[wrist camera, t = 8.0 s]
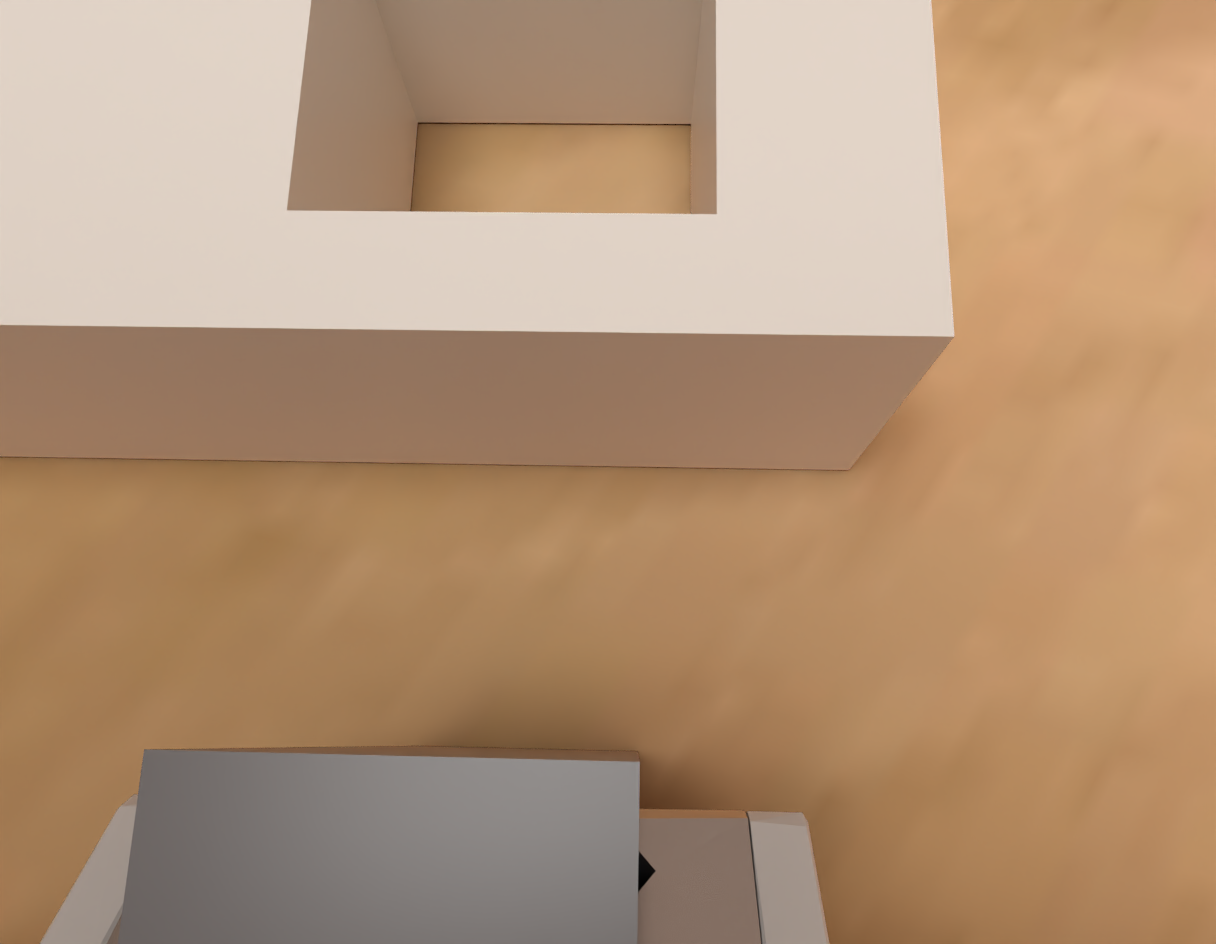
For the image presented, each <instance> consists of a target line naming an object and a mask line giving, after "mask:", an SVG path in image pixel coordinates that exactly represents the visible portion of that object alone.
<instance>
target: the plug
mask: <svg viewBox="0 0 1216 944" xmlns="http://www.w3.org/2000/svg"><path fill="white" fill-rule="evenodd" d="M639 790H640V760H639V755H638V751H609V750H568V749H528V748H487V747H446V746H367V747H293V748H219V749H145V750H144V755H143V762H142V769H141V777H140V784H139V791H138V799H137V806H136V813H135V821H134V828H133V835H132V843H131V850H130V857H129V865H128V872H127V879H126V887H125V894H124V901H123V909H122V916H121V924H120V931H119V938H118V944H637V926H638V858H639Z"/></svg>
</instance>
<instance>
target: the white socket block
mask: <svg viewBox="0 0 1216 944" xmlns="http://www.w3.org/2000/svg"><path fill="white" fill-rule="evenodd" d="M418 122H433V123H595V124H691V214H634V213H520V212H410V211H411V198H412V186H413V174H414V162H415V150H416V137H417V125H418ZM953 338H954V324H953V309H952V295H951V281H950V266H949V252H948V237H947V223H946V208H945V194H944V180H943V165H942V151H941V136H940V122H939V108H938V93H937V79H936V64H935V50H934V36H933V21H932V7H931V0H0V456H1V457H63V458H124V459H186V460H248V461H310V462H372V463H434V464H496V465H557V466H619V467H681V468H743V469H805V470H850V468H851V467H852V466H853V465H854V463H855V462H856V461H857V459H858V458H859V457H860V456H861V454H862V453H863V452H864V451H865V449H866V448H867V447H868V445H869V444H870V443H871V442H872V440H873V439H874V438H875V437H876V435H877V434H878V433H879V432H880V430H881V429H882V428H883V426H884V425H885V424H886V423H887V421H888V420H889V419H890V418H891V416H892V415H893V414H894V413H895V411H896V410H897V409H898V407H899V406H900V405H901V404H902V402H903V401H904V400H905V399H906V397H907V396H908V395H909V394H910V392H911V391H912V390H913V388H914V387H915V386H916V385H917V383H918V382H919V381H920V380H921V378H922V377H923V376H924V374H925V373H926V372H927V371H928V369H929V368H930V367H931V366H932V364H933V363H934V362H935V361H936V359H937V358H938V357H939V355H940V354H941V353H942V352H943V350H944V349H945V348H946V347H947V345H948V344H949V343H950V342H951V340H952V339H953Z"/></svg>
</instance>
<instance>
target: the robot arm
mask: <svg viewBox="0 0 1216 944" xmlns="http://www.w3.org/2000/svg"><path fill="white" fill-rule="evenodd" d="M137 799H138V795H136V794H134V795H133V796H131V797H130V798H129V799H128V800H127V801H126V802H125V803H123V804H122V805H121V806H120V807H119V808H118V809H117V810H116V812H115V814H114V815H113V817H112V819H111V821H110V822H109V824H108V826H107V828H106V829H105V831H104V833H103V835H102V836H101V838H100V840H99V841H98V843H97V845H96V847H95V848H94V850H93V852H92V854H91V855H90V857H89V859H88V860H87V862H86V864H85V866H84V867H83V869H82V871H81V873H80V874H79V876H78V878H77V879H76V881H75V883H74V885H73V886H72V888H71V890H70V892H69V893H68V895H67V897H66V899H65V900H64V902H63V904H62V905H61V907H60V909H59V911H58V912H57V914H56V916H55V918H54V919H53V921H52V923H51V924H50V926H49V928H48V930H47V931H46V933H45V935H44V937H43V938H42V940H41V942H40V943H39V944H118V938H119V931H120V924H121V916H122V909H123V901H124V894H125V887H126V879H127V872H128V865H129V857H130V850H131V843H132V835H133V828H134V821H135V813H136V806H137ZM637 944H829V938H828V933H827V927H826V921H825V916H824V910H823V904H822V899H821V893H820V887H819V881H818V876H817V870H816V864H815V859H814V853H813V847H812V842H811V836H810V830H809V825H808V821H807V820H806V818H805V816H804V815H803V813H802V812H763V811H747V812H746V814H745V812H744V810H684V809H639V858H638V926H637Z"/></svg>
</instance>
